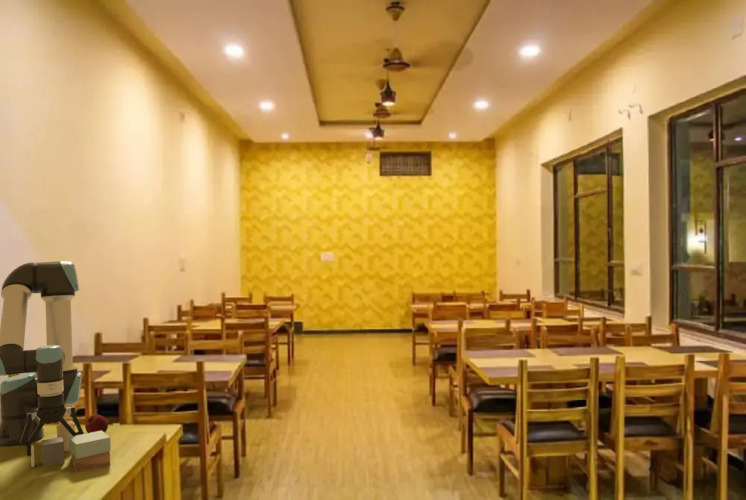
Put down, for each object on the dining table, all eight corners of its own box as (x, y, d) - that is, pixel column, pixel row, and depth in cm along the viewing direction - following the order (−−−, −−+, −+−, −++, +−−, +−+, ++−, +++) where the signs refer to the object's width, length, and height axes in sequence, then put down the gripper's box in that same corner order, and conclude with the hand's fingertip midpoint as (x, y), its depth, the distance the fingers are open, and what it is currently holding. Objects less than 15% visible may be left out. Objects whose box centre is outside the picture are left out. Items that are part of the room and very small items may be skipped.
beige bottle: (68, 452, 209) (67, 422, 209) (53, 451, 210) (52, 422, 210) (79, 447, 214) (77, 418, 214) (65, 446, 215) (64, 418, 215)
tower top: (69, 451, 197) (68, 437, 197) (102, 444, 203) (101, 430, 203) (76, 458, 189) (76, 444, 189) (110, 451, 195) (110, 437, 195)
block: (42, 461, 200) (41, 440, 200) (62, 458, 203) (61, 436, 203) (43, 467, 195) (42, 445, 195) (64, 463, 198) (63, 441, 198)
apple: (82, 436, 227) (81, 414, 227) (104, 431, 232) (103, 410, 232) (89, 440, 221) (88, 418, 221) (111, 435, 226) (110, 414, 226)
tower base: (72, 464, 198) (71, 450, 198) (105, 457, 203) (105, 444, 203) (75, 473, 189) (74, 458, 189) (110, 466, 195) (109, 452, 195)
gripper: (9, 402, 190) (11, 473, 190) (91, 390, 202) (94, 457, 202) (8, 397, 196) (11, 466, 196) (88, 386, 209) (91, 451, 209)
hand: (53, 461), depth 199 cm, fingers open, 11 cm apart
